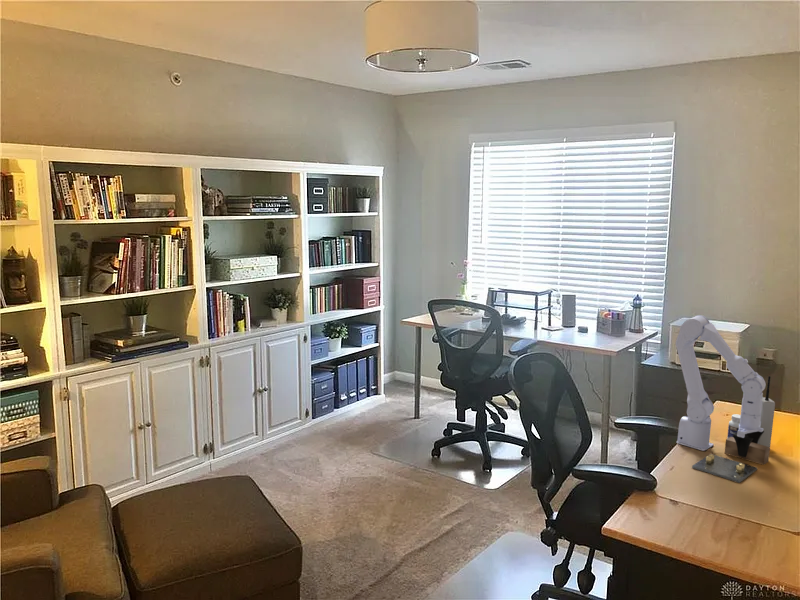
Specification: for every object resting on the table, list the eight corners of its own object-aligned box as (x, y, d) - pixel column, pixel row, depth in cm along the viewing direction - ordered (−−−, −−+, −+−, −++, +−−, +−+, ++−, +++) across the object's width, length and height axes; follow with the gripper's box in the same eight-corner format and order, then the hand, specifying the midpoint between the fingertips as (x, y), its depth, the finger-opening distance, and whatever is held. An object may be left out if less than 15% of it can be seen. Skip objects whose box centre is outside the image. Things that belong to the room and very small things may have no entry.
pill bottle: (726, 444, 222) (729, 417, 221) (727, 439, 227) (729, 412, 225) (744, 447, 220) (747, 419, 218) (744, 442, 225) (747, 415, 223)
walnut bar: (724, 453, 215) (725, 439, 214) (729, 450, 217) (730, 436, 217) (763, 465, 206) (765, 450, 205) (768, 461, 209) (770, 447, 208)
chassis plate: (692, 467, 203) (692, 459, 202) (710, 456, 212) (711, 447, 212) (739, 483, 193) (740, 474, 192) (756, 469, 202) (757, 461, 202)
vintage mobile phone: (763, 444, 223) (771, 373, 219) (769, 450, 218) (778, 378, 214) (751, 443, 223) (759, 373, 219) (758, 449, 218) (766, 377, 214)
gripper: (755, 421, 201) (751, 462, 204) (772, 411, 211) (767, 450, 213) (732, 415, 207) (727, 456, 209) (749, 405, 216) (745, 444, 219)
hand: (746, 453), depth 211 cm, fingers open, 7 cm apart
